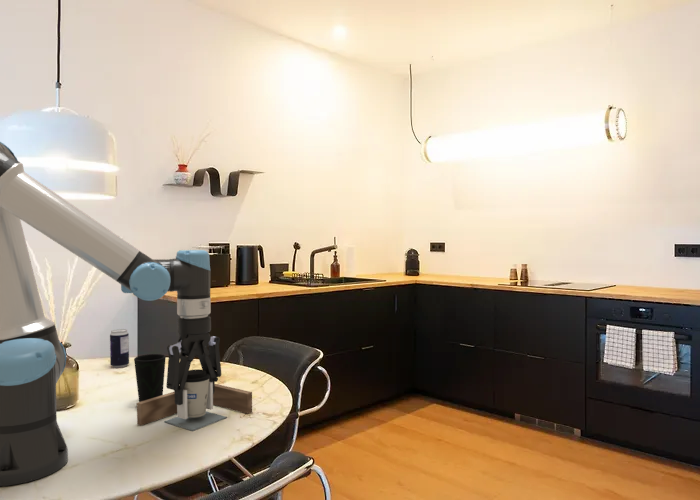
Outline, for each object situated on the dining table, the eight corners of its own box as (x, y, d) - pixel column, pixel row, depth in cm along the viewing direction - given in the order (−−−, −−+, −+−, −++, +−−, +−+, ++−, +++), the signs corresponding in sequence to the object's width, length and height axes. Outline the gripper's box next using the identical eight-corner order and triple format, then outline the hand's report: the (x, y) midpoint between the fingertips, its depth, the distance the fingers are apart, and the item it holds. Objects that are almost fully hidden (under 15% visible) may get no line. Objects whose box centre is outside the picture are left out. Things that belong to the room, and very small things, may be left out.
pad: (192, 431, 118) (192, 429, 118) (164, 422, 123) (164, 421, 123) (226, 418, 126) (226, 416, 126) (198, 410, 132) (198, 409, 132)
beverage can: (126, 363, 180) (125, 328, 180) (131, 366, 176) (130, 330, 175) (108, 366, 176) (107, 330, 176) (113, 369, 172) (112, 332, 172)
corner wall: (183, 439, 113) (183, 416, 113) (137, 424, 122) (136, 402, 122) (252, 412, 130) (252, 392, 130) (206, 400, 139) (206, 381, 139)
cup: (155, 408, 133) (155, 361, 133) (128, 407, 135) (127, 360, 134) (172, 399, 141) (171, 354, 140) (146, 397, 142) (145, 353, 142)
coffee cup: (200, 407, 130) (199, 366, 129) (216, 413, 125) (216, 371, 125) (174, 414, 124) (173, 372, 124) (190, 421, 120) (189, 377, 119)
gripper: (168, 323, 114) (170, 429, 114) (236, 311, 130) (237, 404, 131) (147, 320, 118) (149, 422, 119) (215, 309, 134) (216, 399, 135)
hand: (195, 412), depth 125 cm, fingers closed on coffee cup, 7 cm apart
